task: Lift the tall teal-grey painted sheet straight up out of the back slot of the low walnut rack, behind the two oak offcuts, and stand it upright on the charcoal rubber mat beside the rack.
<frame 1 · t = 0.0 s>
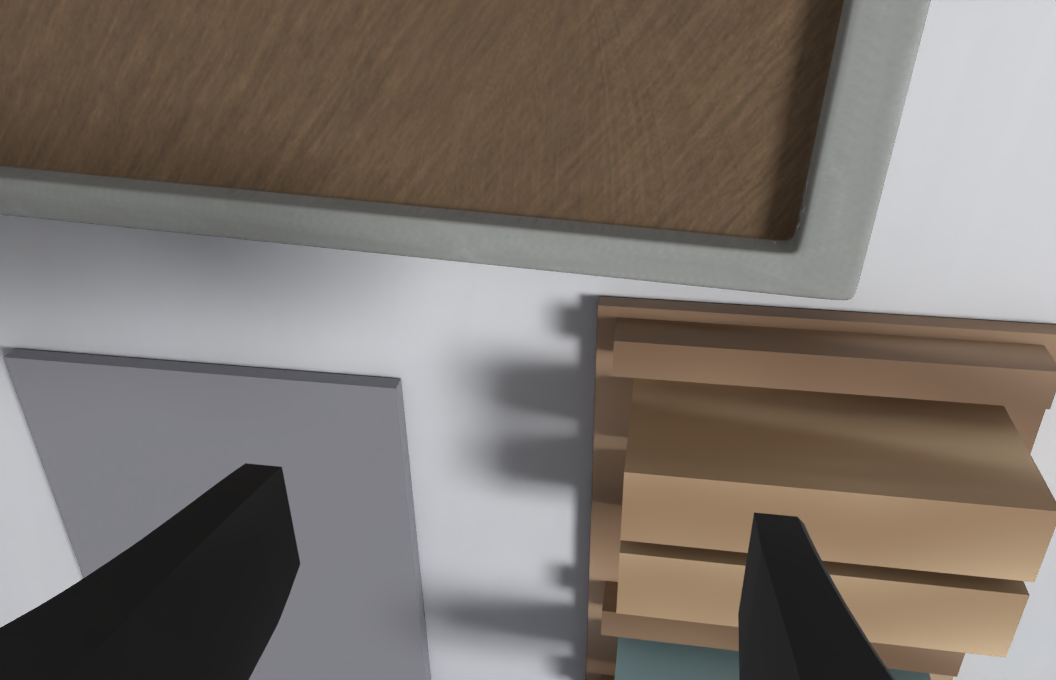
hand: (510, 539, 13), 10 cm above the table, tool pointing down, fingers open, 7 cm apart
offcut 2: (807, 421, 23), resting on rack
rack: (781, 545, 26), on the table
mat: (243, 543, 29), on the table
tall sheet: (764, 659, 27), resting on rack
offcut 1: (794, 493, 24), resting on rack
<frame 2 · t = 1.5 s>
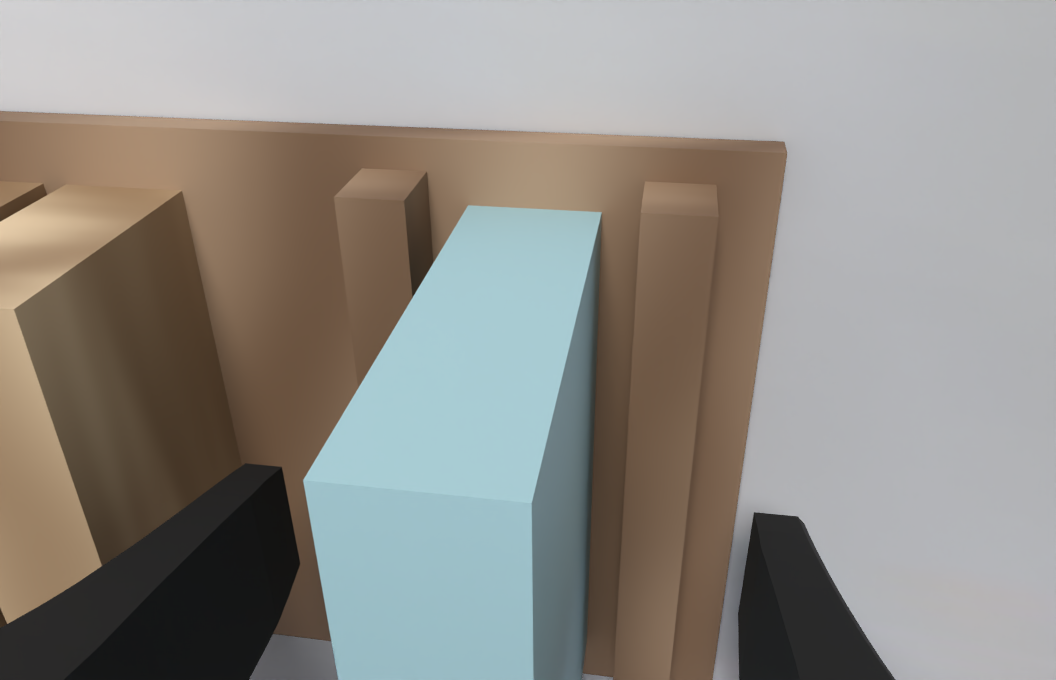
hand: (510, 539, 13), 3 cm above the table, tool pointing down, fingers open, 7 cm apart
offcut 2: (63, 408, 17), resting on rack
rack: (313, 415, 16), on the table
tall sheet: (535, 452, 15), resting on rack
offcut 1: (182, 419, 16), resting on rack
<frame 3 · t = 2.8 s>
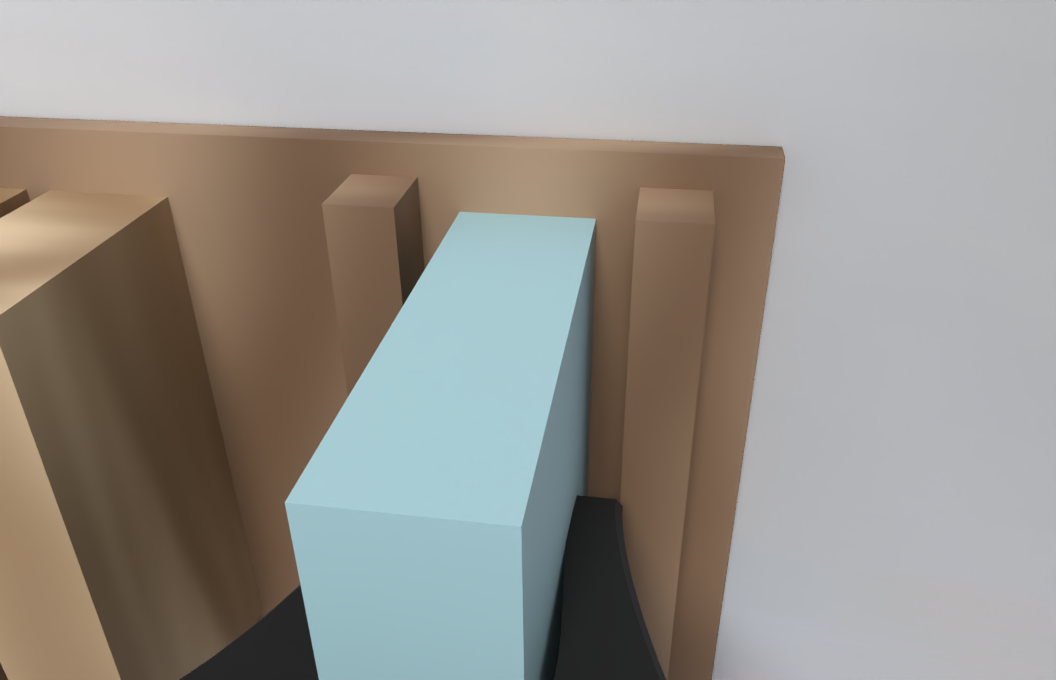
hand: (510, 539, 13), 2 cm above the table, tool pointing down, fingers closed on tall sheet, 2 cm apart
offcut 2: (49, 417, 16), resting on rack
rack: (303, 424, 16), on the table
tall sheet: (529, 462, 15), resting on rack, touching gripper
offcut 1: (170, 429, 16), resting on rack
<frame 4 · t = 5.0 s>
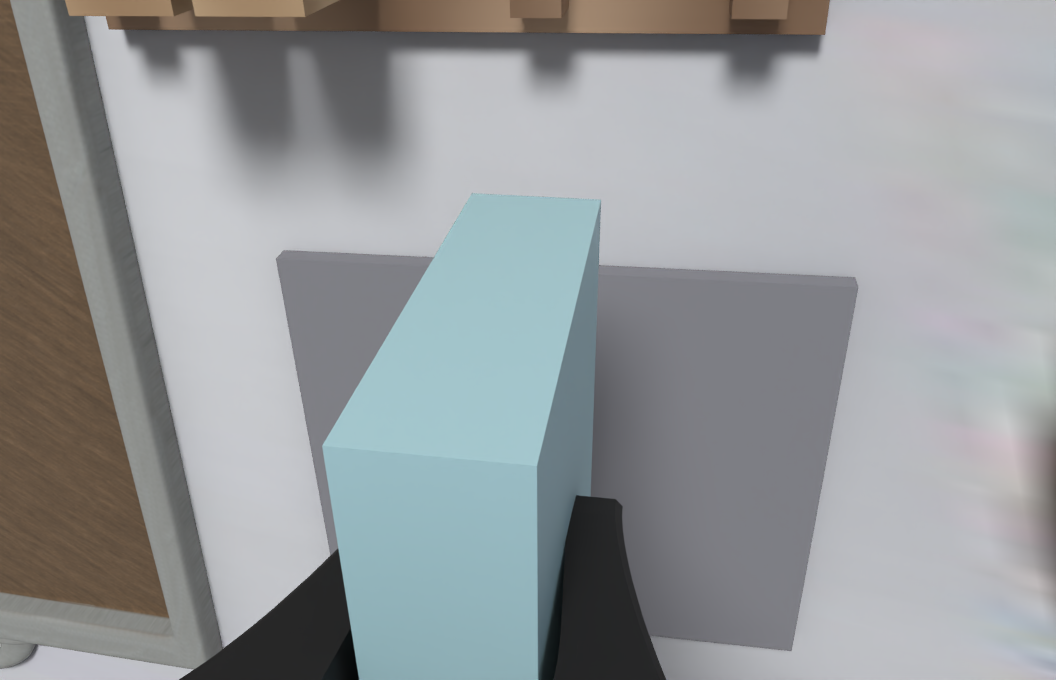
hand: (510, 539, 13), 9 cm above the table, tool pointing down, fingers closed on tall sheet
mat: (557, 459, 24), on the table
tall sheet: (536, 433, 16), point 7 cm above the table, touching gripper
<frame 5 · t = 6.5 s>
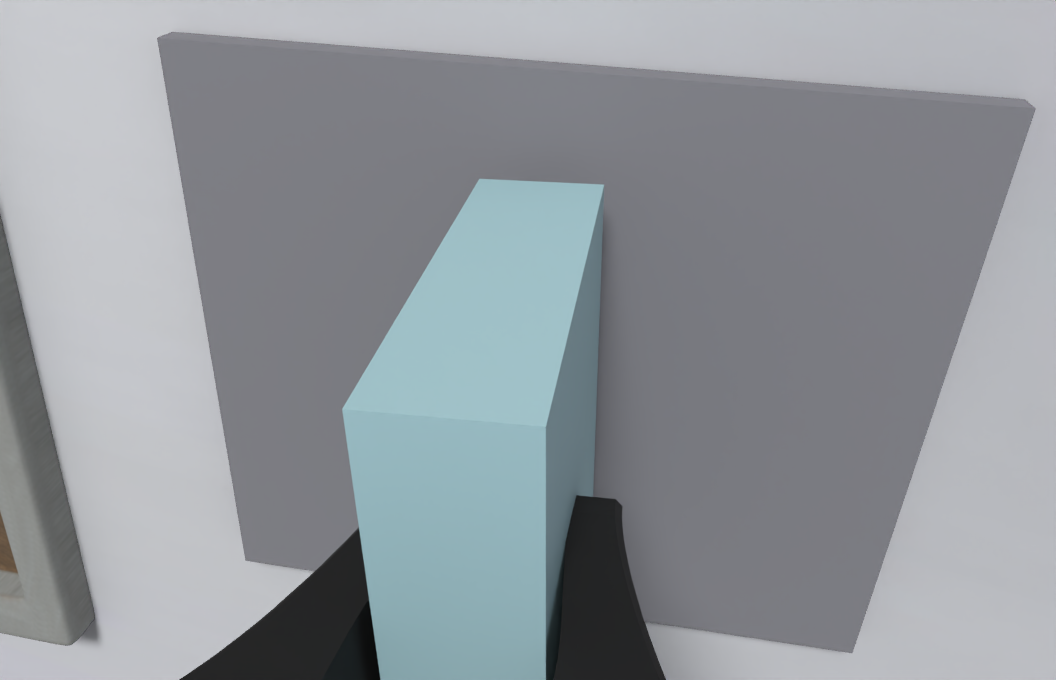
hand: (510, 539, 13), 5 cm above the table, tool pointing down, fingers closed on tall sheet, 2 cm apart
mat: (553, 372, 17), on the table
tall sheet: (541, 414, 16), point 1 cm above the table, touching gripper
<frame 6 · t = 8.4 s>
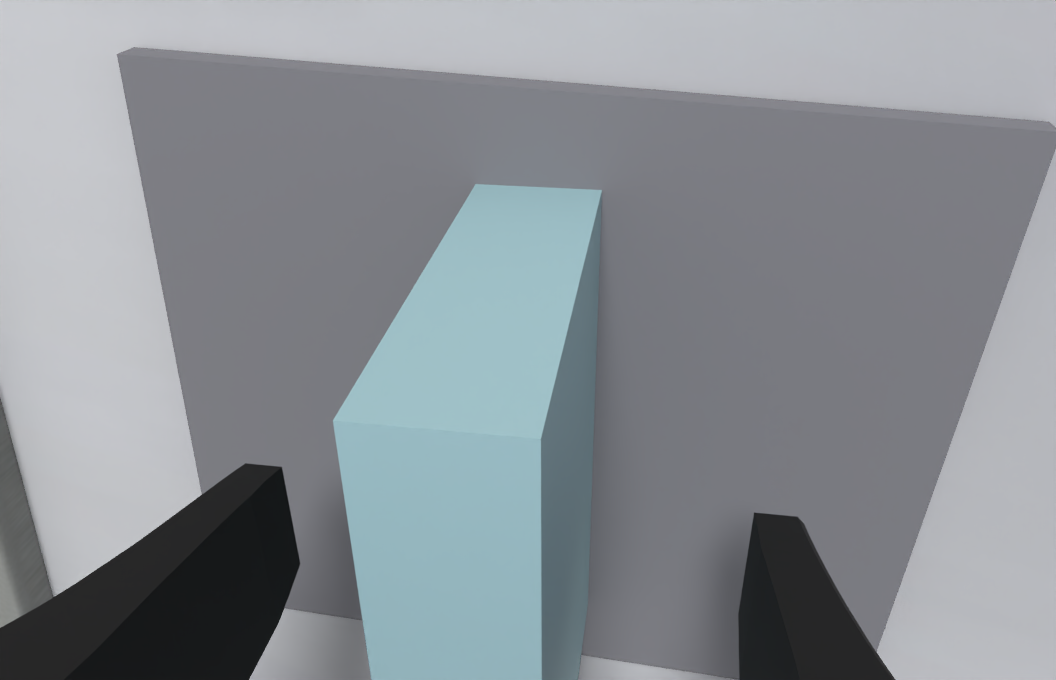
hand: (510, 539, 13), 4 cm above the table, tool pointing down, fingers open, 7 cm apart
mat: (544, 406, 16), on the table
tall sheet: (539, 421, 16), resting on mat
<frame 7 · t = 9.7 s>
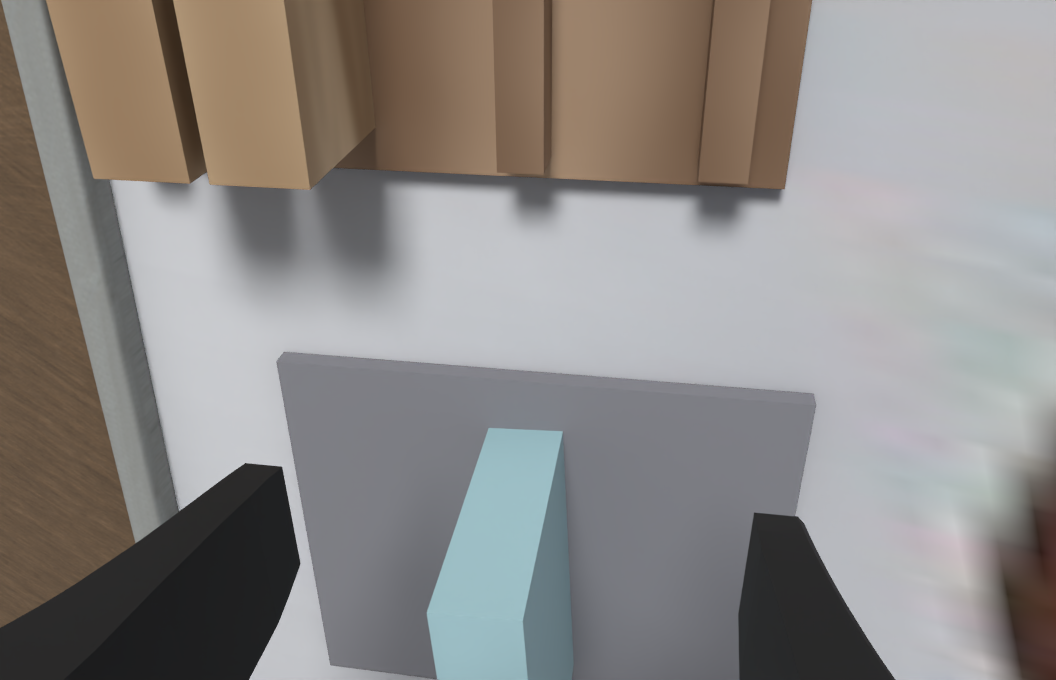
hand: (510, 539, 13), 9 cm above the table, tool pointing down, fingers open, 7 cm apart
mat: (537, 543, 26), on the table
tall sheet: (534, 555, 26), resting on mat
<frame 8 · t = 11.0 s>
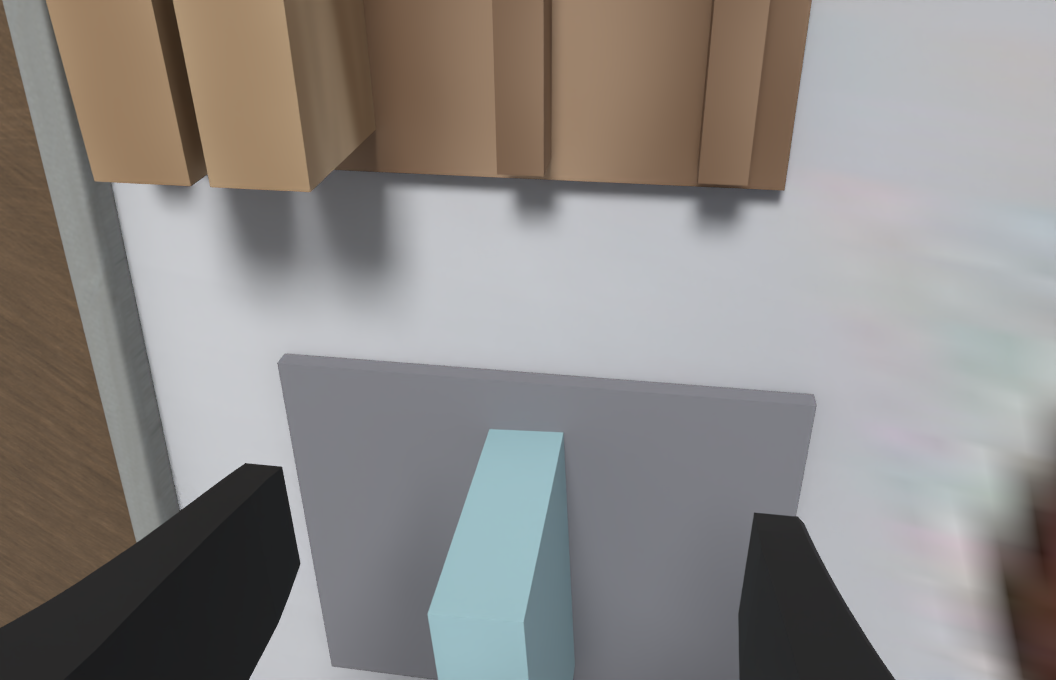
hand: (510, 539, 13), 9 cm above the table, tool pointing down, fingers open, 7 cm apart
mat: (538, 544, 26), on the table
tall sheet: (535, 556, 26), resting on mat
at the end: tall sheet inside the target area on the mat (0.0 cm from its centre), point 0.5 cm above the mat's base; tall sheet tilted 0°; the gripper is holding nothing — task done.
